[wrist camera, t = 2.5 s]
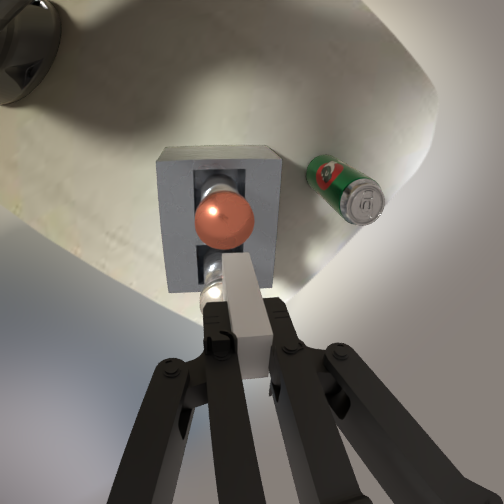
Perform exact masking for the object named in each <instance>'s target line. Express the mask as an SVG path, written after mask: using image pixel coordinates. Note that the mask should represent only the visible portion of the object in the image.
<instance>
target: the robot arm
mask: <svg viewBox="0 0 504 504" xmlns="http://www.w3.org/2000/svg"><path fill="white" fill-rule="evenodd" d="M60 36H61V23H60V18H59V15H58V12H57V10H56V9H55V7H54V6H53V5H52V4H51V3H50V2H48V1H47V0H0V105H2V104H7V103H12V102H15V101H17V100H19V99H21V98H23V97H24V96H26V95H27V94H29V93H30V92H31V91H32V90H33V89H34V88H35V87H36V86H37V85H38V84H39V83H40V82H41V80H42V79H43V78H44V76H45V75H46V73H47V72H48V70H49V69H50V67H51V65H52V63H53V61H54V58H55V56H56V53H57V50H58V47H59V43H60ZM222 287H223V300H224V301H220V302H207V303H206V304H205V306H204V308H203V326H204V340H203V344H204V351H203V353H202V354H201V355H200V356H199V357H197V358H196V359H194V360H191V361H188V362H184V361H182V360H180V359H177V358H168V359H165V360H163V361H161V362H160V363H159V364H158V365H157V366H156V368H155V371H154V373H153V376H152V378H151V381H150V384H149V386H148V389H147V391H146V394H145V397H144V399H143V402H142V404H141V407H140V410H139V412H138V415H137V418H136V420H135V423H134V426H133V429H132V431H131V434H130V437H129V439H128V442H127V445H126V448H125V451H124V454H123V456H122V459H121V462H120V465H119V468H118V471H117V474H116V477H115V480H114V483H113V486H112V489H111V492H110V495H109V498H108V501H107V504H172V502H173V497H174V493H175V489H176V485H177V480H178V476H179V472H180V468H181V464H182V459H183V455H184V451H185V447H186V443H187V439H188V434H189V431H190V426H191V422H192V418H193V414H194V410H195V407H198V406H201V405H204V404H207V403H208V408H209V419H210V430H211V440H212V450H213V458H214V467H215V476H216V484H217V492H218V500H219V504H266V501H265V496H264V491H263V486H262V481H261V477H260V472H259V467H258V462H257V457H256V452H255V447H254V441H253V436H252V432H251V426H250V421H249V415H248V410H247V404H246V399H245V393H244V388H243V382H242V380H243V379H253V378H263V377H268V374H269V373H270V376H271V383H270V389H269V396H271V395H272V396H273V400H274V404H275V408H276V412H277V416H278V420H279V424H280V428H281V432H282V436H283V440H284V444H285V447H286V452H287V456H288V460H289V464H290V467H291V471H292V476H293V479H294V483H295V487H296V491H297V495H298V499H299V503H300V504H373V503H372V501H371V500H370V499H369V497H367V496H365V495H363V494H362V492H361V491H360V488H359V485H358V483H357V480H356V477H355V474H354V472H353V469H352V466H351V464H350V461H349V458H348V455H347V453H346V450H345V447H344V445H343V442H342V439H341V436H340V434H339V431H338V428H337V426H338V427H339V429H340V430H341V431H342V433H343V434H344V436H345V437H346V438H347V440H348V441H349V442H350V444H351V445H352V447H353V448H354V450H355V451H356V452H357V454H358V455H359V456H360V458H361V459H362V461H363V462H364V463H365V465H366V466H367V467H368V469H369V470H370V472H371V473H372V474H373V476H374V477H375V478H376V480H377V481H378V483H379V484H380V485H381V487H382V488H383V489H384V491H386V493H387V495H388V496H389V497H390V499H391V500H392V501H393V503H394V504H503V501H502V499H501V497H500V496H498V495H497V494H496V493H494V492H492V491H490V490H487V489H486V488H484V487H482V486H480V485H478V484H476V483H474V482H472V481H470V480H468V479H467V478H465V477H463V475H462V474H461V473H460V472H459V471H458V470H457V469H456V467H455V466H454V465H453V464H452V463H451V461H450V460H449V459H448V458H447V457H446V455H445V454H444V453H443V452H442V451H441V450H440V449H439V447H438V446H437V445H436V444H435V443H434V441H433V440H432V439H431V438H430V437H429V436H428V434H426V432H425V431H424V430H423V429H422V427H421V426H420V425H419V424H418V423H417V422H416V420H415V419H414V418H413V417H412V416H411V415H410V414H409V412H408V411H407V410H406V409H405V408H404V407H403V406H402V404H401V403H400V402H399V401H398V400H397V399H396V398H395V396H394V395H393V394H392V393H391V392H390V391H389V389H388V388H387V387H386V386H385V385H384V384H383V383H382V381H381V380H380V379H379V378H378V377H377V376H376V375H375V373H374V372H373V371H372V370H371V369H370V368H369V367H368V365H367V364H366V363H365V362H364V361H363V360H362V359H361V357H360V356H359V355H358V354H357V353H356V352H355V351H354V349H352V348H351V347H350V346H349V345H346V344H344V343H333V344H331V345H329V346H328V347H327V349H326V350H321V349H314V348H310V347H307V346H306V345H305V344H304V342H303V341H301V340H299V339H298V336H297V334H296V331H295V329H294V326H293V324H292V321H291V318H290V316H289V313H288V310H287V307H286V305H285V303H284V302H283V301H282V300H281V299H280V298H279V297H274V298H262V295H261V292H260V288H259V285H258V281H257V278H256V275H255V271H254V268H253V264H252V261H251V258H250V254H249V252H245V253H222ZM336 424H337V426H336Z"/></svg>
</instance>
